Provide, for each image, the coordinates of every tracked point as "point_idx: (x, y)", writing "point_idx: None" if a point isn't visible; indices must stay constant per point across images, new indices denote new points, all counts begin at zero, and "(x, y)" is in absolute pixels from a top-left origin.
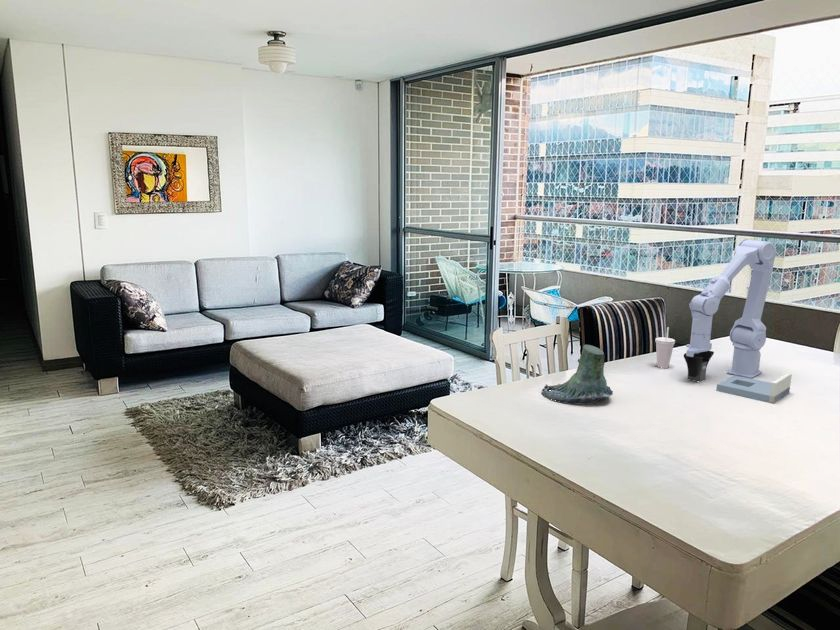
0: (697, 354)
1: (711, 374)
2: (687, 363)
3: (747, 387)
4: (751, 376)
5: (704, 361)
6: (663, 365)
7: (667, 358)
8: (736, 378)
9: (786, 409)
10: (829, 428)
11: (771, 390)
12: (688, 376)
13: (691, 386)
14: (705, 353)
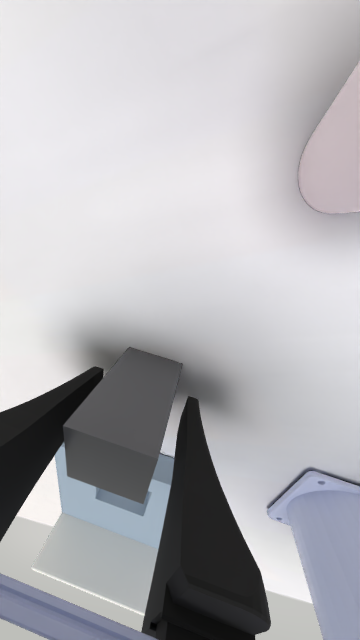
0: (177, 528)
1: (267, 424)
2: (11, 412)
3: (88, 495)
4: (273, 518)
5: (134, 495)
6: (306, 170)
7: (357, 176)
8: (162, 493)
9: (59, 501)
10: (25, 517)
11: (50, 533)
12: (121, 358)
13: (51, 364)
14: (156, 594)
